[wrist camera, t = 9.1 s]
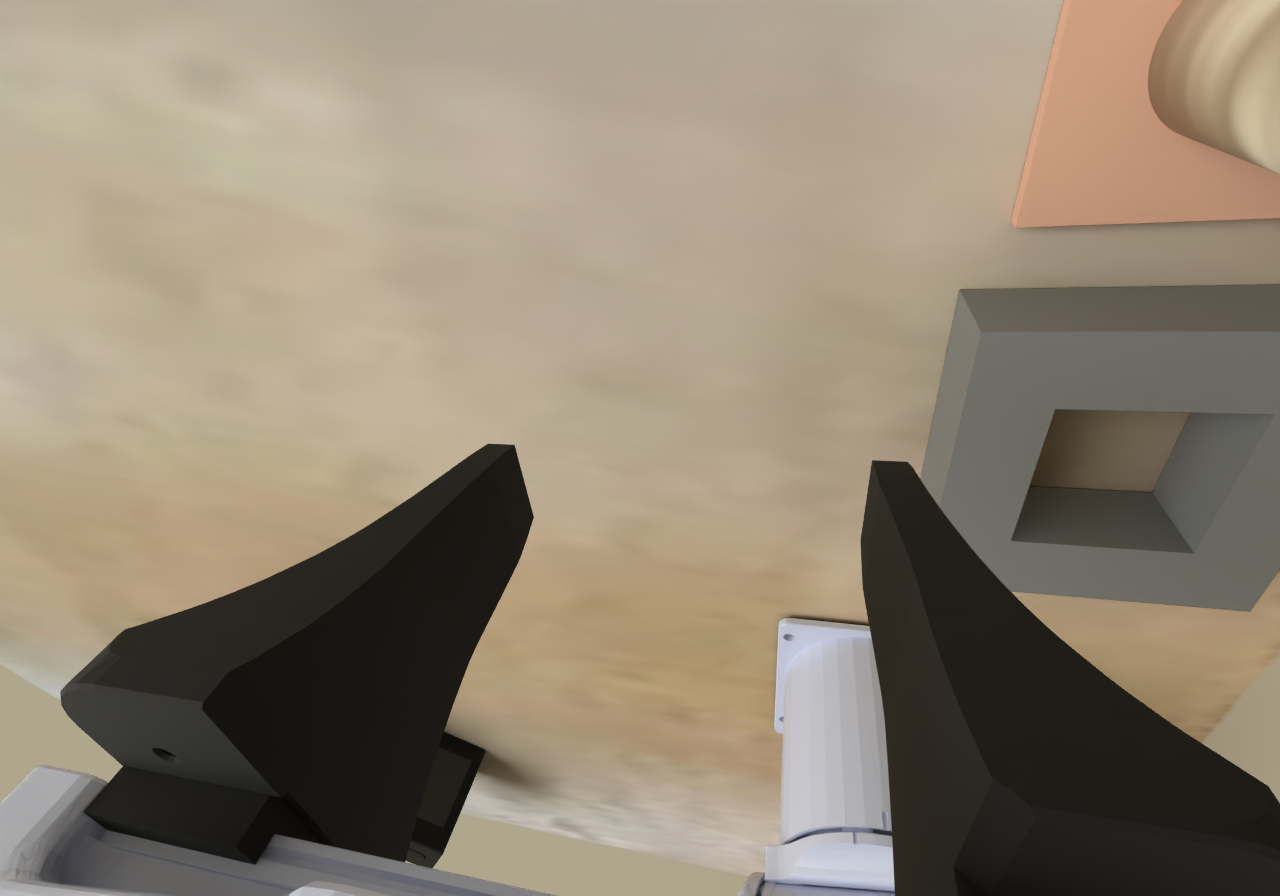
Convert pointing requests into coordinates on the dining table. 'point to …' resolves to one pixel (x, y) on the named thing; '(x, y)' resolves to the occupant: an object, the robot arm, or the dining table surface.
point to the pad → (1123, 135)
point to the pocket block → (1120, 381)
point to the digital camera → (443, 798)
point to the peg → (1221, 77)
